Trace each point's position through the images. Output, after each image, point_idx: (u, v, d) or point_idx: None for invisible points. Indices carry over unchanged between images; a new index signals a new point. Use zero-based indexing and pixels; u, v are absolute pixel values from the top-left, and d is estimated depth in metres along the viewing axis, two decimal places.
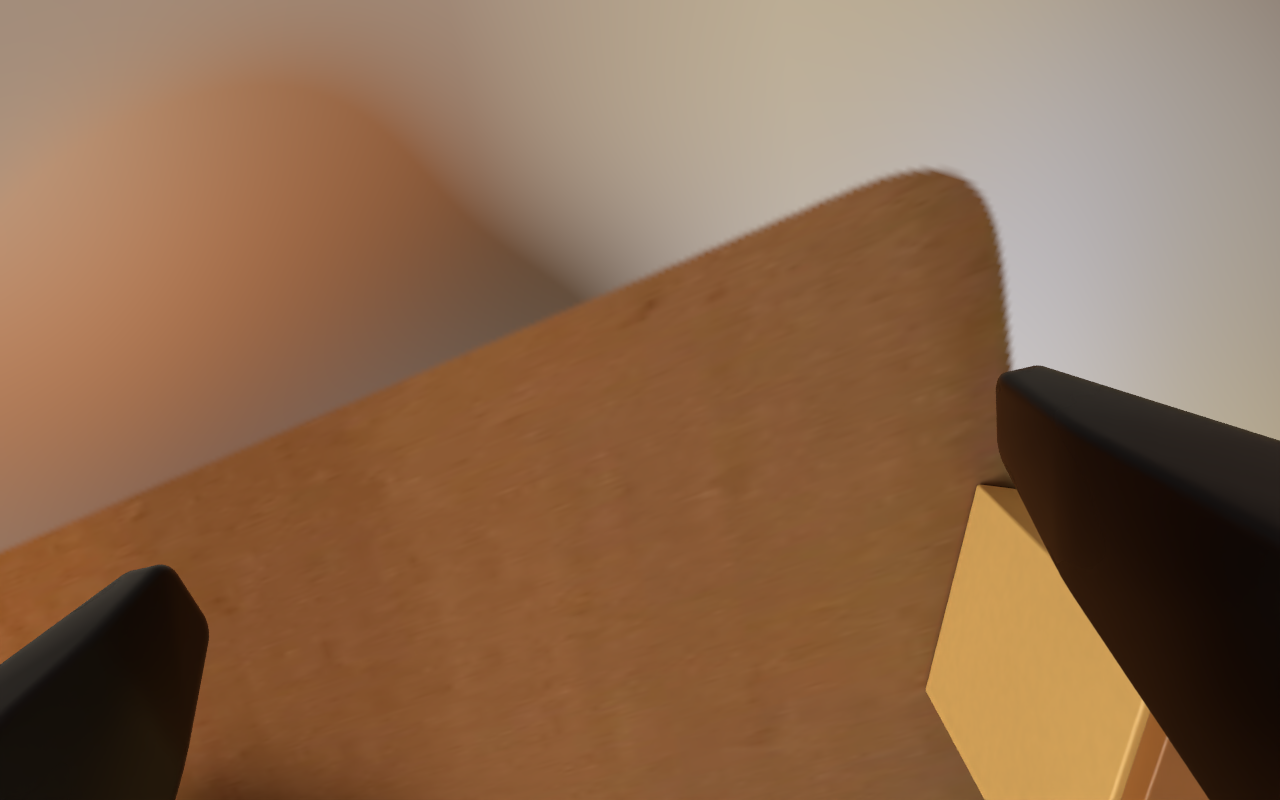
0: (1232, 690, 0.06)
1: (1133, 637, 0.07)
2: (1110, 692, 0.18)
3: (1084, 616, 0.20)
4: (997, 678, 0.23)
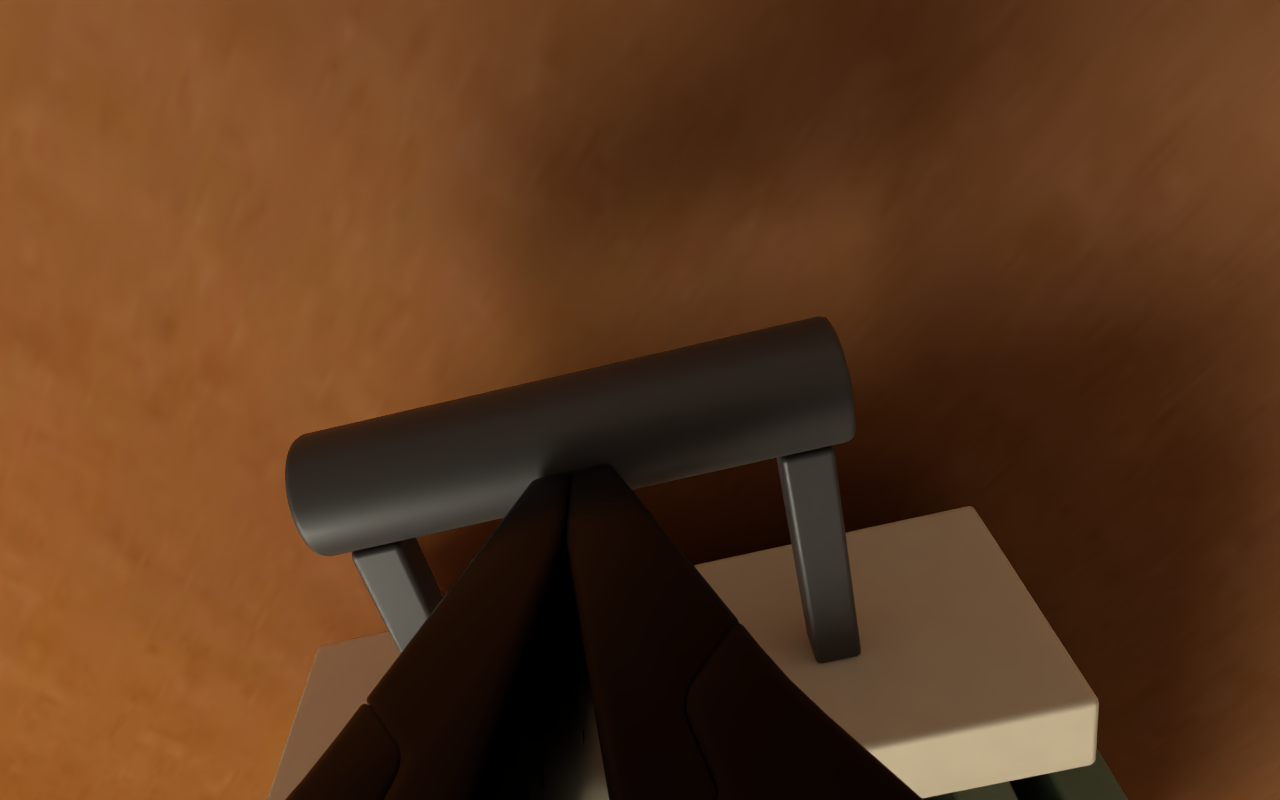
0: None
1: None
2: None
3: None
4: None
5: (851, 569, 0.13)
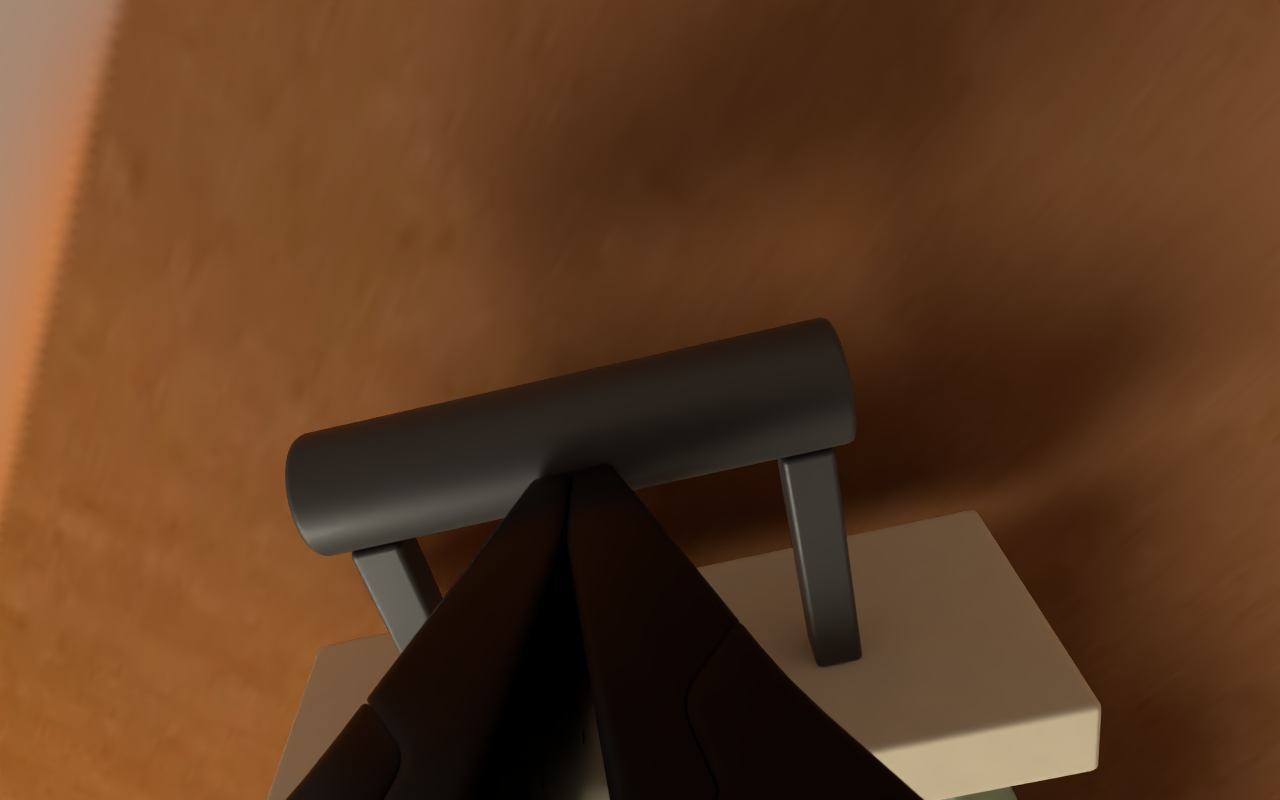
0: None
1: None
2: None
3: None
4: None
5: (853, 572, 0.13)
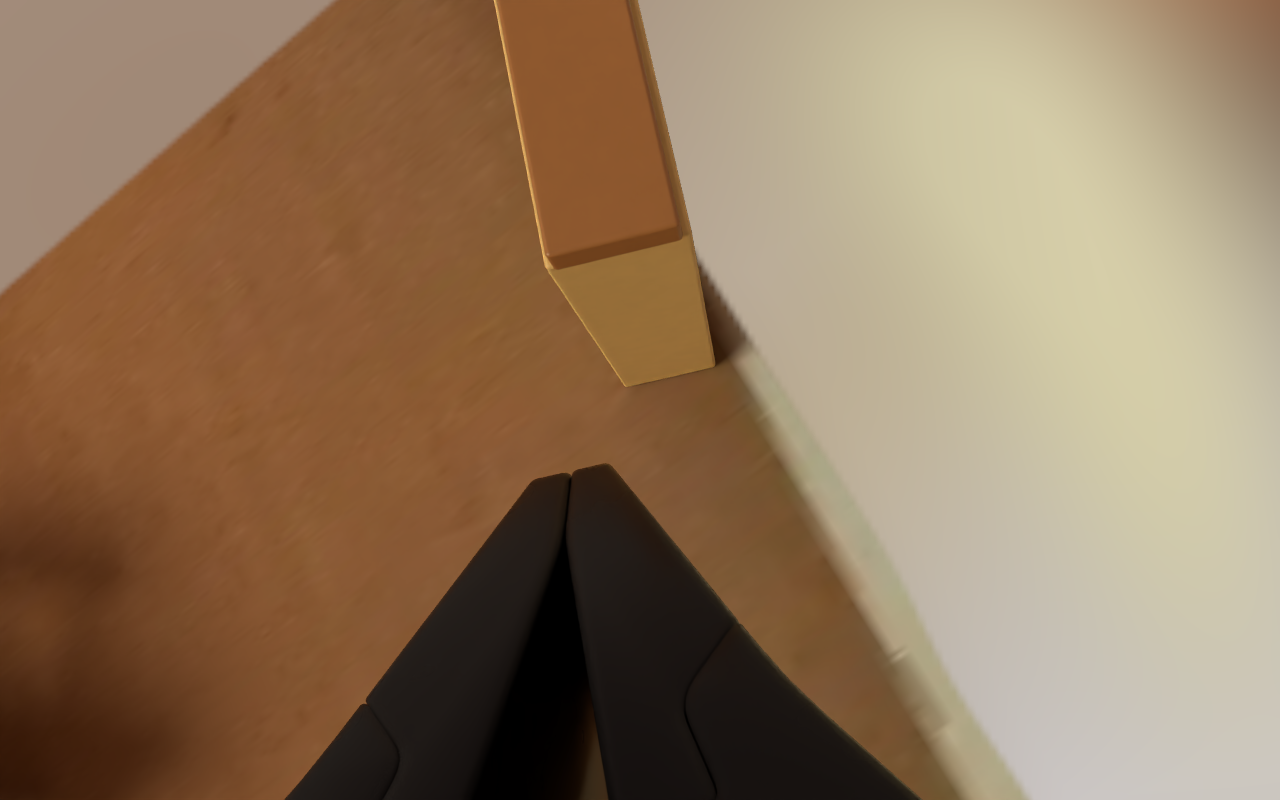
0: None
1: None
2: None
3: None
4: None
5: None
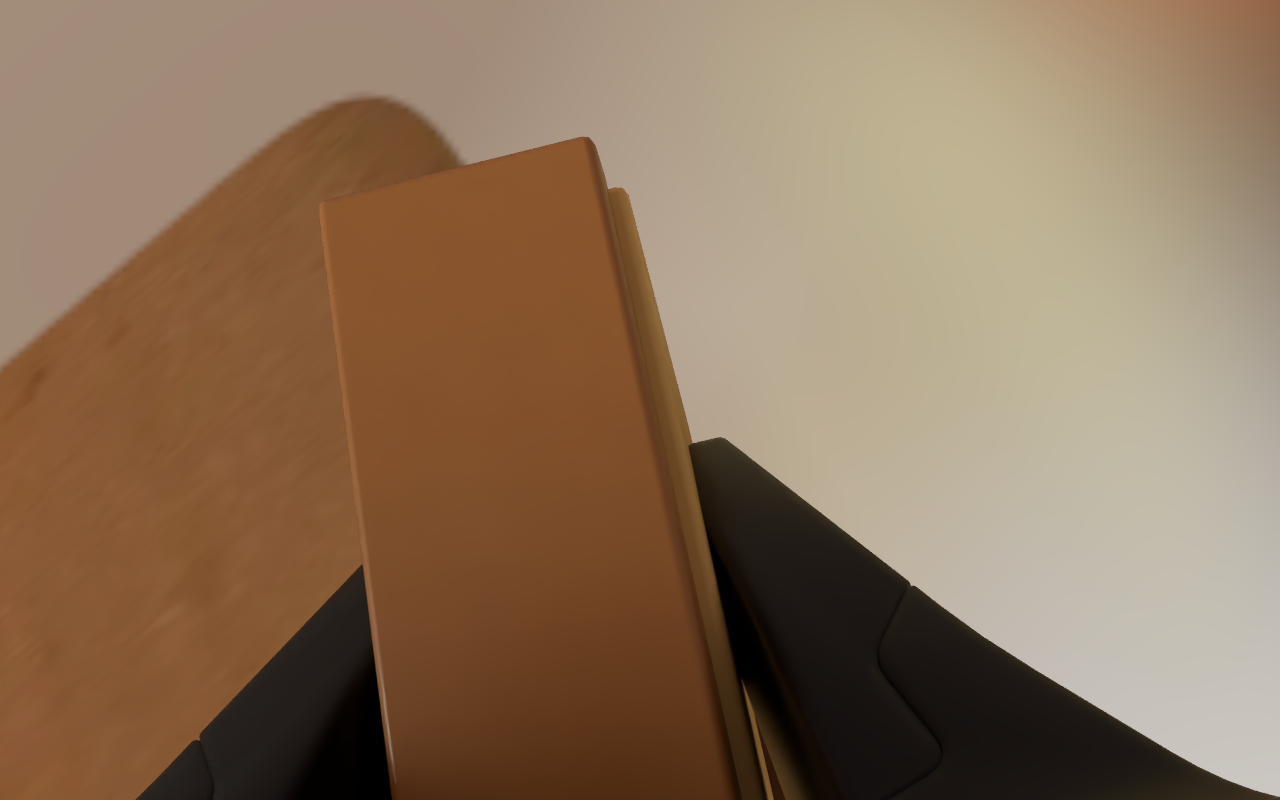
0: (794, 780, 0.07)
1: (760, 715, 0.08)
2: None
3: None
4: None
5: None
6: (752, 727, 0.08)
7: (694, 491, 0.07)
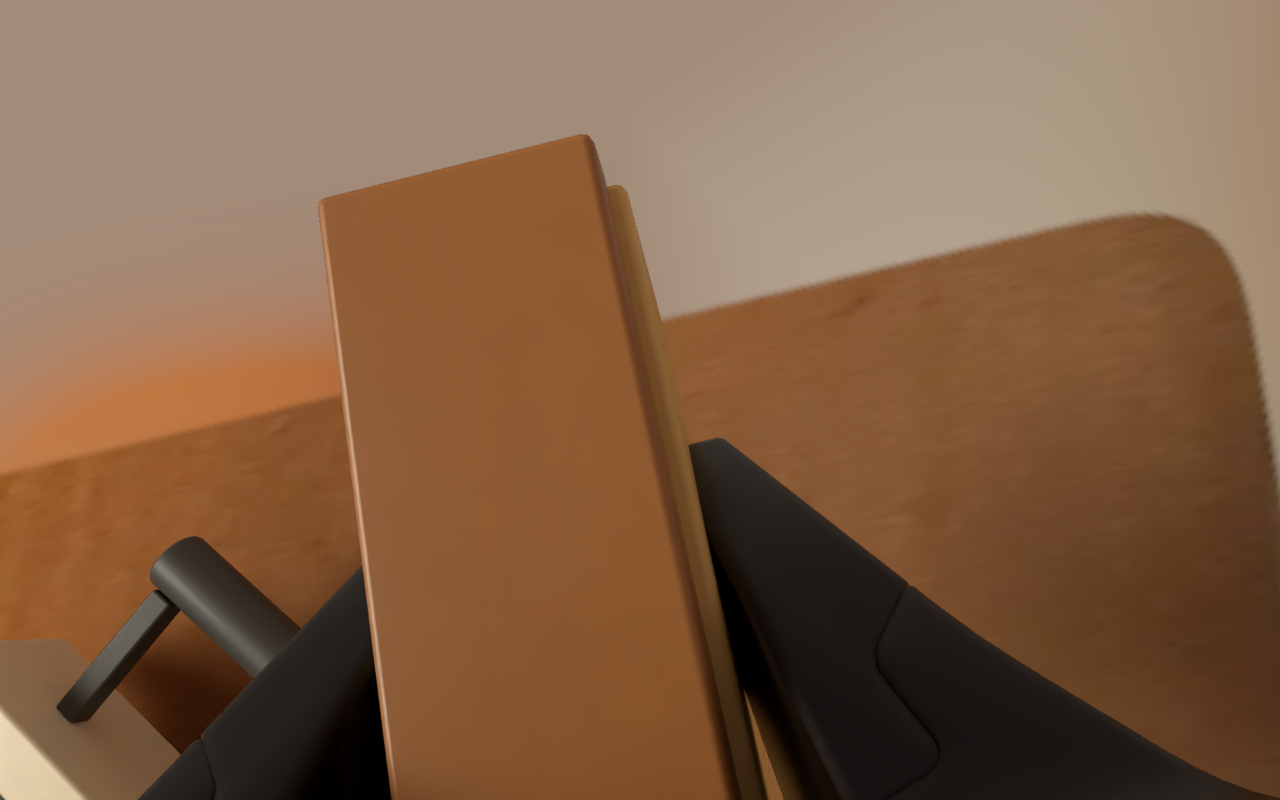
0: (792, 780, 0.07)
1: (759, 716, 0.08)
2: None
3: None
4: None
5: None
6: (752, 725, 0.08)
7: (693, 488, 0.07)
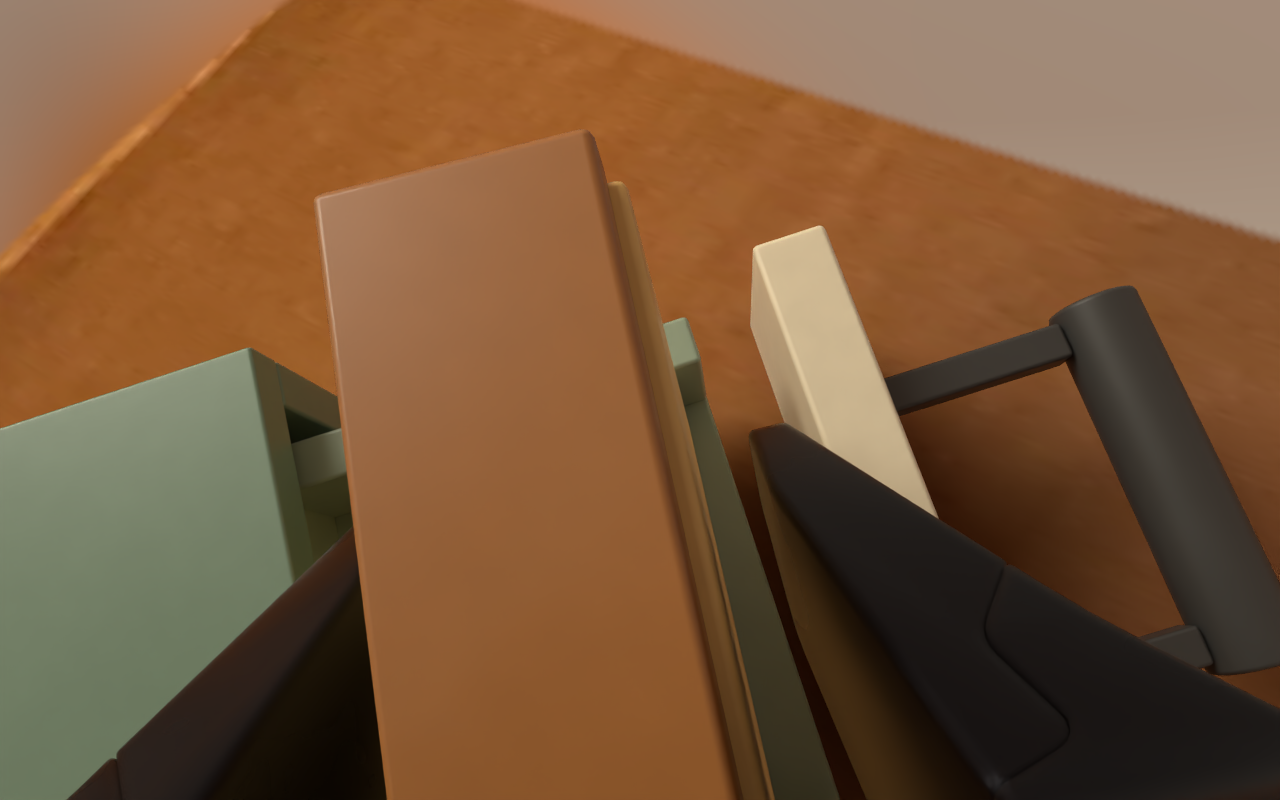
0: (881, 762, 0.07)
1: (834, 700, 0.08)
2: None
3: None
4: None
5: None
6: (754, 729, 0.08)
7: (695, 489, 0.07)
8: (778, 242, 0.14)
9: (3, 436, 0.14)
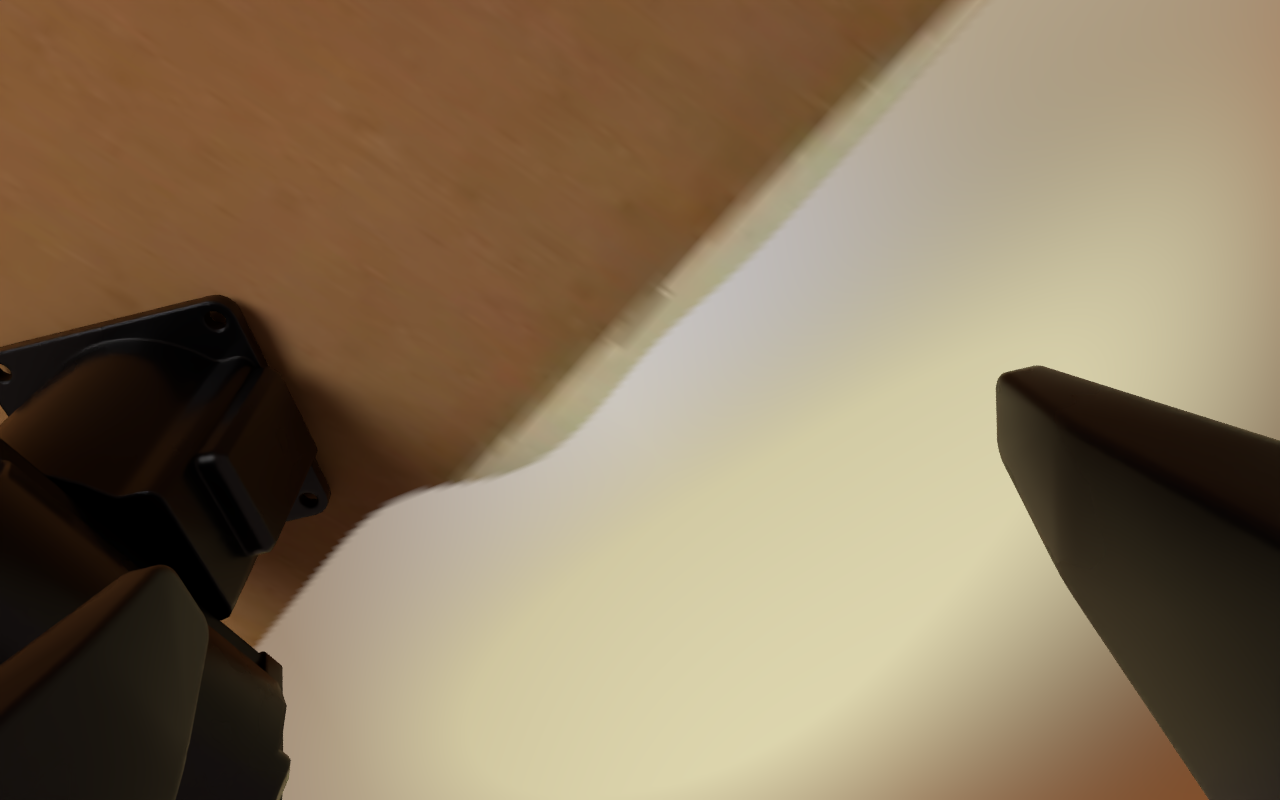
0: (1232, 690, 0.06)
1: (1133, 637, 0.07)
2: None
3: None
4: None
5: None
6: None
7: None
8: None
9: None
